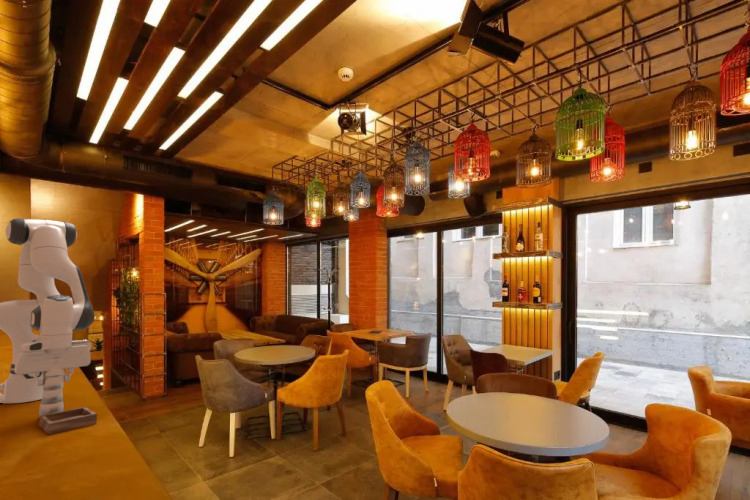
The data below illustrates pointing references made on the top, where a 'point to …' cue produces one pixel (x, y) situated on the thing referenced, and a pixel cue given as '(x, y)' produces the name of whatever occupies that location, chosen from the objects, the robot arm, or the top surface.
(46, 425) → the walnut tray
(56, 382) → the silver metal bottle
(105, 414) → the top surface
